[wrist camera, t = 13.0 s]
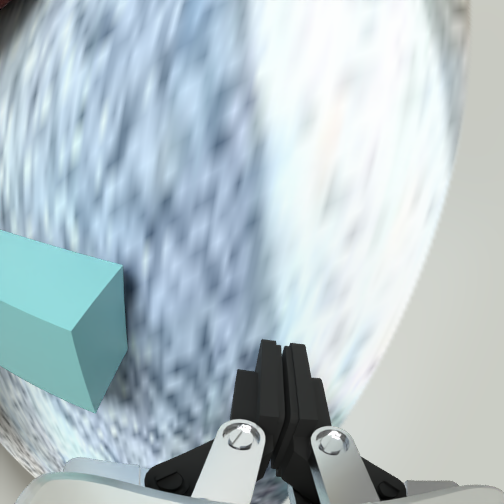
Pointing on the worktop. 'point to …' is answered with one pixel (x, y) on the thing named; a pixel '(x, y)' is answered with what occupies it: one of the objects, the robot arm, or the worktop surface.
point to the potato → (3, 3)
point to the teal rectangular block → (61, 319)
